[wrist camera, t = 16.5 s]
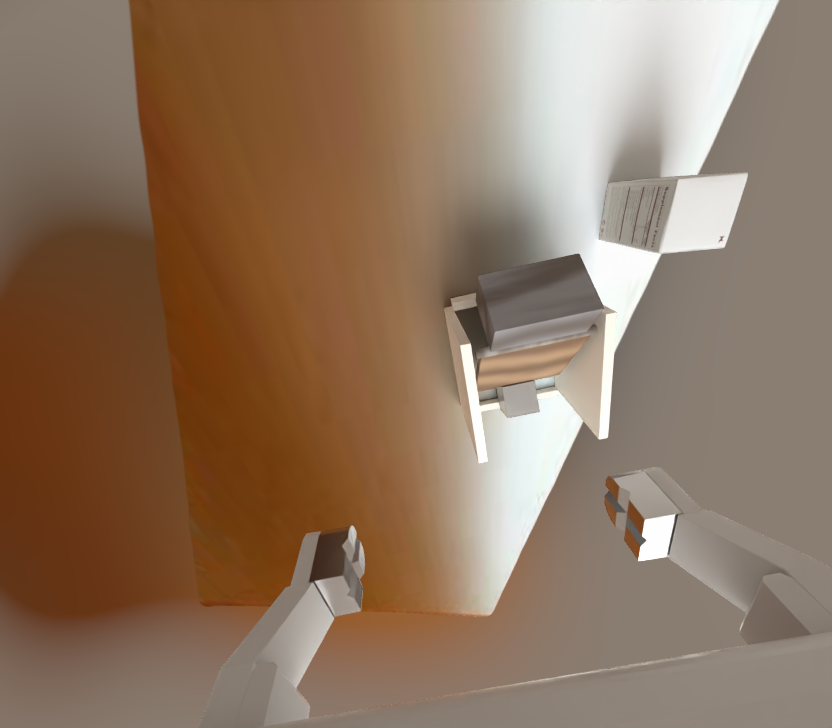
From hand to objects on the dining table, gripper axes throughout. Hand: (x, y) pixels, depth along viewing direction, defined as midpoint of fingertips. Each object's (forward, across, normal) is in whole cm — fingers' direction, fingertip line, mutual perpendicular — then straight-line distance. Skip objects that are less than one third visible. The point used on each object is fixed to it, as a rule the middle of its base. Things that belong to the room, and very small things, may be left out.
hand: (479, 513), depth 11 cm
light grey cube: (+36, -12, +22) cm, 44 cm away
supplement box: (+41, -30, -1) cm, 51 cm away
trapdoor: (+36, -12, +8) cm, 38 cm away
